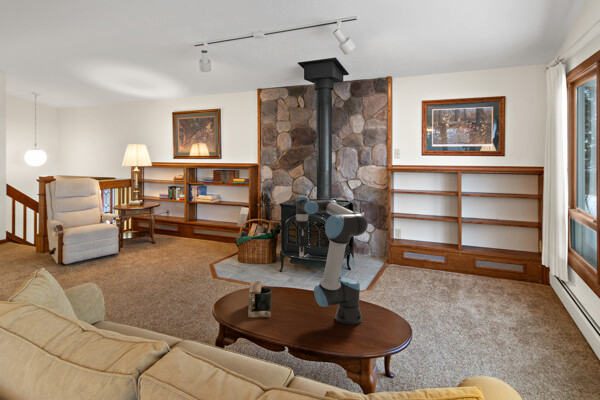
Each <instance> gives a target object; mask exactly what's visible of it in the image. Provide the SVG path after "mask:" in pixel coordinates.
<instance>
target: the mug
mask: <svg viewBox="0 0 600 400" xmlns="http://www.w3.org/2000/svg"><path fill="white" fill-rule="evenodd" d="M272 292H273V290H272V288H270V287H265V286H264V287H262V286H261V294H254V300H255V305H254V310H255V311H268V312H271V310H272Z"/></svg>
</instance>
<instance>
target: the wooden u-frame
mask: <svg viewBox="0 0 600 400" xmlns="http://www.w3.org/2000/svg"><path fill="white" fill-rule="evenodd" d="M261 288H262V280H251V281H250V283H249V290H248V295H247V298H248V299H247V301H248V310H247V312H248V315H247V316H248V318H270V319H271V317H272V314H271V313H272V312H271V311H256V310H255V311H253V306H255V299H254V296H253V295H255V294H261Z"/></svg>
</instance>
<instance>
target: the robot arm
mask: <svg viewBox="0 0 600 400" xmlns="http://www.w3.org/2000/svg"><path fill="white" fill-rule="evenodd" d="M295 205H296V208H295V209H296V210H295V211H296V212H295V213H296V215H295V220H296V221H295V226H296V227H298V236H299V237H298V238H299V240H298V244H299V245H298V247H299V249H298V250H299V251H298V252H299V255H298V256H299V257H304V256H305V255H304V253H305V236H306V235H305V234H306V229H305V228H307V227H308V226H309V222H308V220H309V215H310V214H311V215H312V214H313V215H314V214H317V213H318V214H319V213H326V214H328V215H330V216H329V217H328V218H327V219H326V221H325V224H324V229H325V231H324V232H325V235H326V237H327V239H328V241H329V243H328V250H327V251H328V252H327V256H326V260H325V261H326V262H325V267H324V273H323V276H322V277H323V278H321V279H320V280H319V285H315V286H314V288H313V294H314V295H313V296H314V298H315V302H316V303H317V304H318V305H319V306H320V307H329V306H330V307H331V306H335V305H338V306H337V309H336V312H335V316H334V317H335V320H336V322H338V323H340V324H343V325H348V326H349V325H350V326H351V325H358V324H360V323H362V321H363V320H362V319H363V316H362V313H361V308H360V293H361V292H360V290H361V286H360V282H359V281H358V280H356V279H352V278H347V277H343V278H340V277H341V271H342V266H343V263H344V257H345V253H346V252H345V251H346V247H347V245H348V244H349V243H350V241H351V238H352V237H358V236H361V235H363V234H364V233H365V232H366V231H367V229H368V227H369V226H368V225H369V223H368V219H367V217H366V216H365V215H364V214H362V213H360V212H359V211H352V210H350V209H348V208H346V207H343V206H341V205H339V204H338V202H337V201H336V200H333V199H327V200H325V199H324V200H320V199H319V200H309V196H306V195H299V196H297V197H296V201H295Z"/></svg>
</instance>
